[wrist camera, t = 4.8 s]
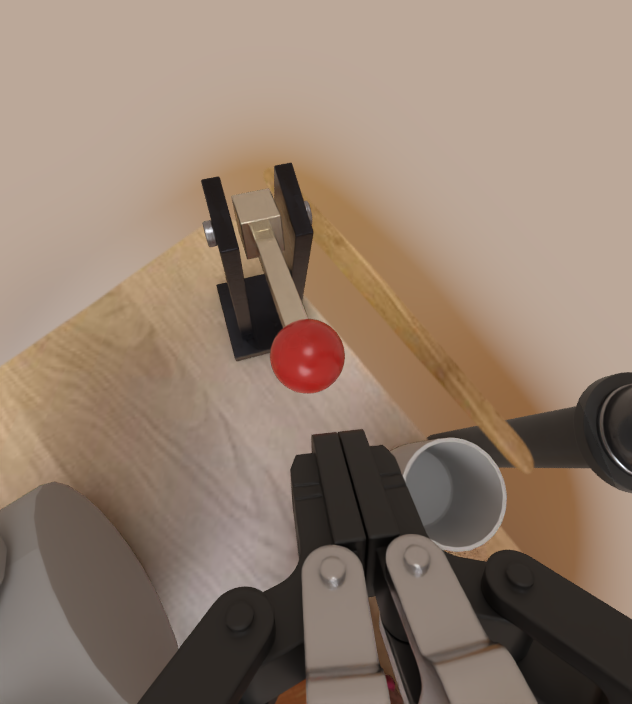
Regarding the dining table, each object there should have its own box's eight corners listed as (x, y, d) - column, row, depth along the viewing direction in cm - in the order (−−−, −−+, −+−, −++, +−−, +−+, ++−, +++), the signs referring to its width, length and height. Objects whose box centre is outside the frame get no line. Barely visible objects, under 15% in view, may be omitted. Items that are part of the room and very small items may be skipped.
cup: (465, 519, 38) (521, 536, 29) (352, 550, 36) (375, 576, 28) (440, 435, 39) (487, 427, 31) (331, 461, 38) (348, 460, 29)
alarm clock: (6, 533, 34) (-433, 644, 13) (108, 466, 36) (-129, 467, 15) (114, 733, 32) (-211, 1274, 10) (218, 649, 34) (122, 966, 12)
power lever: (353, 396, 20) (356, 351, 17) (284, 415, 19) (276, 372, 17) (282, 227, 27) (276, 179, 25) (231, 238, 27) (220, 190, 24)
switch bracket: (311, 341, 40) (339, 250, 23) (236, 361, 39) (206, 280, 22) (291, 272, 42) (302, 138, 25) (217, 289, 41) (176, 161, 24)
